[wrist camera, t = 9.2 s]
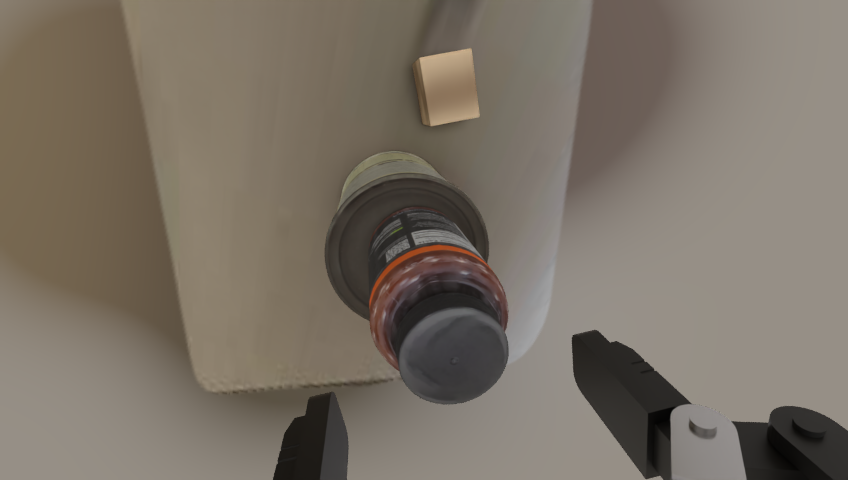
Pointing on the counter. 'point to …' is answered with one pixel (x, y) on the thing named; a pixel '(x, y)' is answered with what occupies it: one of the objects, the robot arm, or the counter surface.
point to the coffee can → (379, 198)
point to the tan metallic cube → (446, 87)
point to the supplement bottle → (436, 307)
